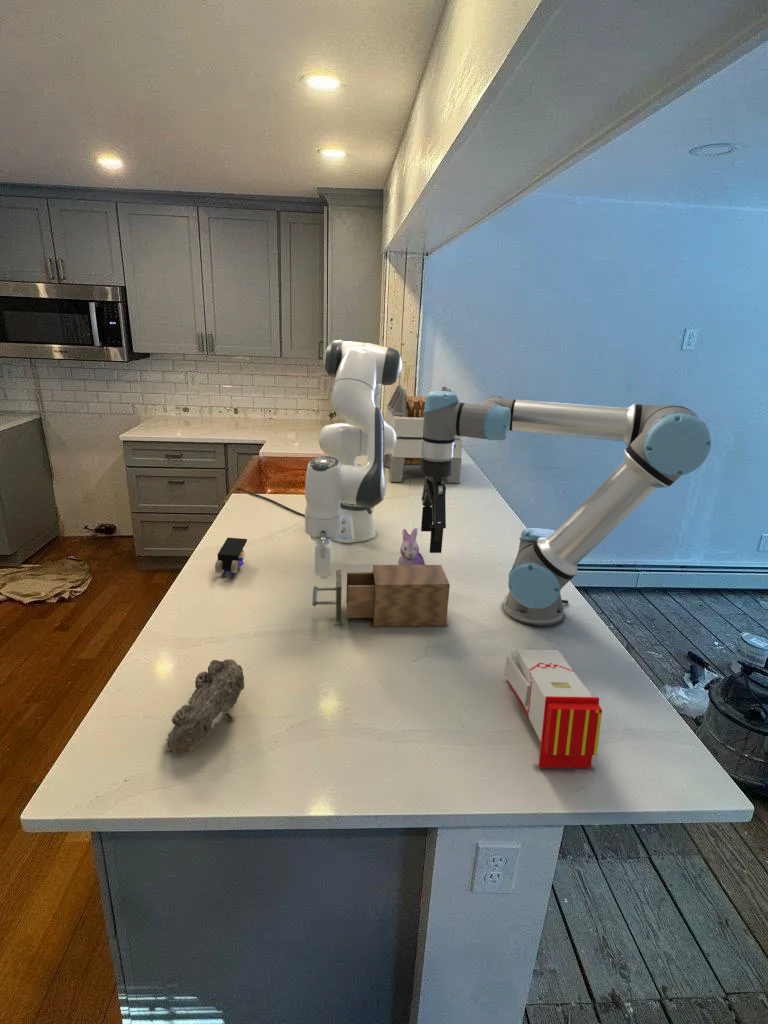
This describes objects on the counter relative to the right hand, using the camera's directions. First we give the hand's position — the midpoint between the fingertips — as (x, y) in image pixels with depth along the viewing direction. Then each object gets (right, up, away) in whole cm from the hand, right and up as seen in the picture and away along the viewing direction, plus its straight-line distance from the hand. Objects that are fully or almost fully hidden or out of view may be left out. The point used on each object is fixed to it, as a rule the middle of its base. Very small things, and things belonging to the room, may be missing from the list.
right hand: (430, 541), depth 141 cm
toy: (+20, -33, -29) cm, 48 cm away
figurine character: (-56, -10, +27) cm, 63 cm away
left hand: (-27, -9, +1) cm, 28 cm away
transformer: (+6, +26, +134) cm, 137 cm away
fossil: (-44, -32, -33) cm, 64 cm away
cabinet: (-6, -19, +7) cm, 21 cm away
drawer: (-18, -18, +5) cm, 26 cm away
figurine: (-4, -12, +27) cm, 30 cm away
